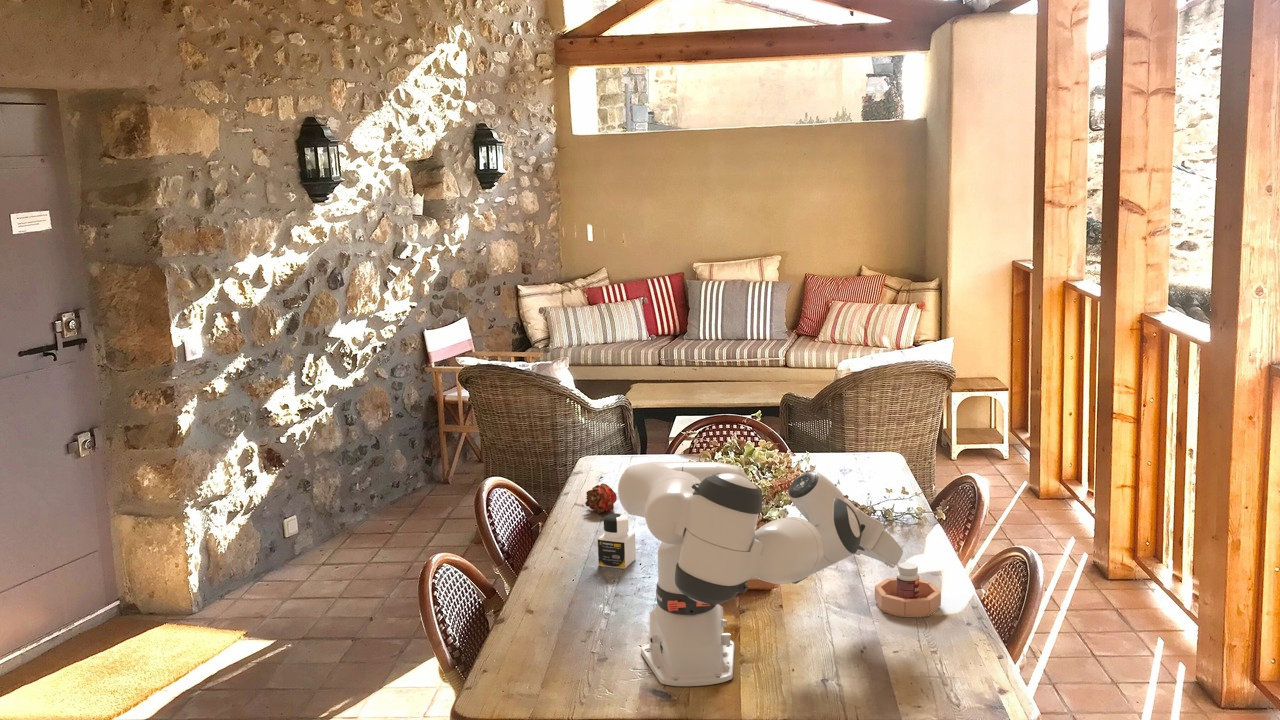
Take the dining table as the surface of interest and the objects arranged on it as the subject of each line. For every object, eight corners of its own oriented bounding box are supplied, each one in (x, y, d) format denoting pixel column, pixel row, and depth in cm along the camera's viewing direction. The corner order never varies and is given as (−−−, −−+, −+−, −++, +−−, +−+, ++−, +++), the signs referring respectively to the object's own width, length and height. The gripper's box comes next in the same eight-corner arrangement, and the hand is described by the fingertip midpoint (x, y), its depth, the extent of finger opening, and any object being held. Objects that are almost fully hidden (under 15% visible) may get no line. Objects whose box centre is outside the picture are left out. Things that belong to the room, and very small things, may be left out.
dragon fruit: (595, 524, 303) (601, 516, 315) (620, 506, 302) (625, 498, 314) (577, 499, 303) (584, 492, 315) (601, 481, 303) (607, 475, 314)
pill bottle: (919, 607, 236) (920, 570, 234) (896, 606, 237) (897, 569, 235) (918, 598, 240) (919, 562, 239) (896, 597, 241) (896, 561, 240)
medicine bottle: (598, 566, 268) (596, 519, 265) (609, 556, 274) (608, 510, 272) (625, 569, 265) (623, 521, 263) (636, 559, 271) (634, 512, 269)
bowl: (947, 615, 233) (947, 598, 232) (887, 619, 232) (887, 602, 231) (926, 592, 246) (926, 576, 245) (869, 595, 245) (869, 579, 244)
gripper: (799, 524, 231) (832, 556, 239) (872, 551, 215) (905, 585, 222) (814, 499, 233) (846, 532, 241) (887, 524, 217) (920, 558, 224)
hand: (875, 558), depth 231 cm, fingers open, 8 cm apart
